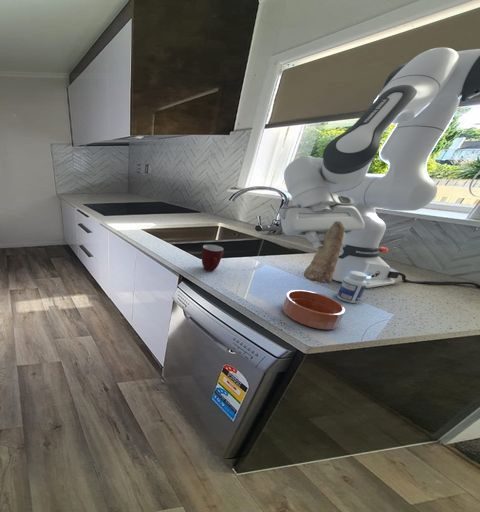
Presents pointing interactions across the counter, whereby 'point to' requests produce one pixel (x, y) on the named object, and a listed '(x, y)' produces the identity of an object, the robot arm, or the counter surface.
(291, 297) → the bowl
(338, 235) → the brown tapered cone
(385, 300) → the counter surface
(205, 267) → the mug
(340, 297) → the pill bottle
